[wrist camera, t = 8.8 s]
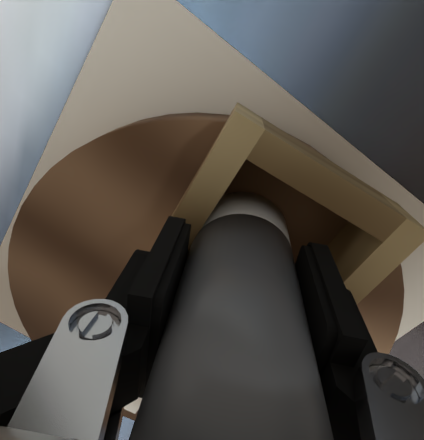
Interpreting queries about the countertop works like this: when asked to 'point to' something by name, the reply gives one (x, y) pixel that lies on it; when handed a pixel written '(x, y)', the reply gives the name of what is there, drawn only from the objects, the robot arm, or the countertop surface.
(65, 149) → the dial base
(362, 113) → the countertop surface
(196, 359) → the grey rounded cylinder
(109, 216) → the dial
